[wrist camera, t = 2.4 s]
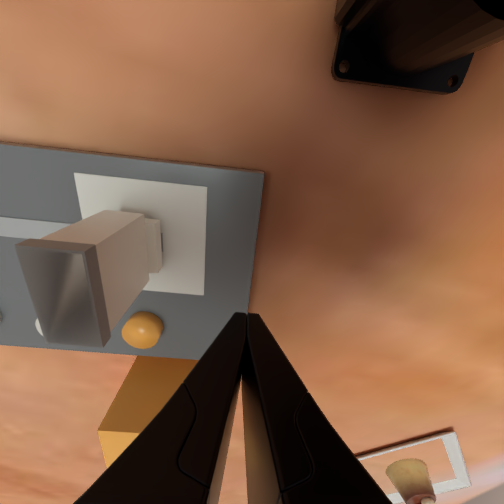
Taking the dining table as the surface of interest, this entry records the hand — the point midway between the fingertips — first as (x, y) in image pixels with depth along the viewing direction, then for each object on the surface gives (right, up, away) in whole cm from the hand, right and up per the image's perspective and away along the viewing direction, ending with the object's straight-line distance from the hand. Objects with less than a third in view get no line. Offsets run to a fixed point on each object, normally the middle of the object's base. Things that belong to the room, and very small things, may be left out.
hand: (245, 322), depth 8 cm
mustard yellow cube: (-7, -8, +13) cm, 17 cm away
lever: (-7, +3, +5) cm, 9 cm away
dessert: (+18, -22, +20) cm, 35 cm away
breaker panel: (-10, +2, +8) cm, 13 cm away
